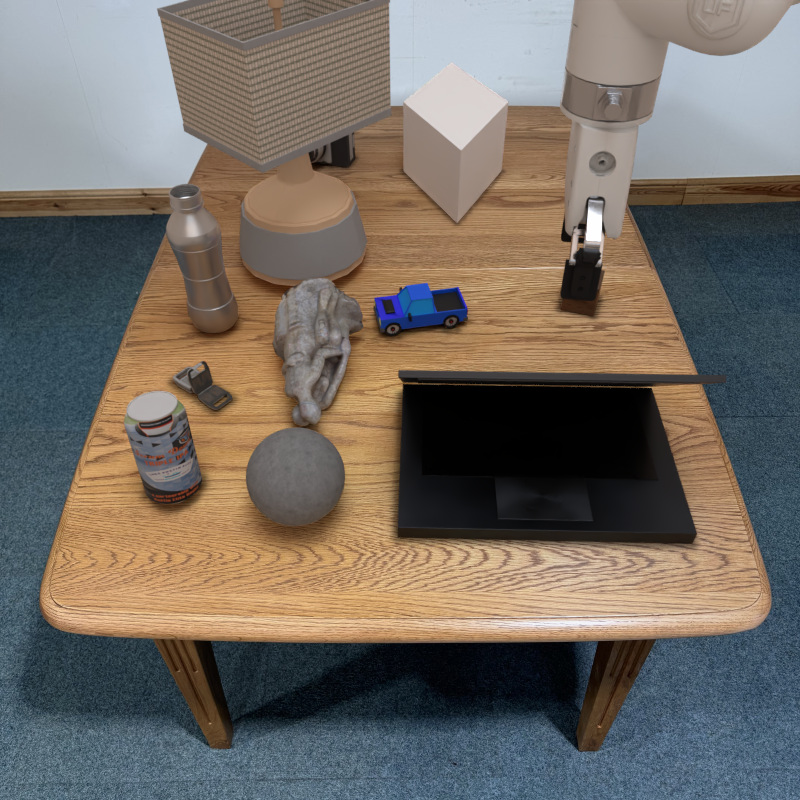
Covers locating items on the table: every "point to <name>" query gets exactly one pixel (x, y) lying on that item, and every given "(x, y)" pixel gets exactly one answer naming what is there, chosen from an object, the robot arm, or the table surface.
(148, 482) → the beverage can
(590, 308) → the block
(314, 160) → the camera
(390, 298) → the toy car
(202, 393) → the strap clip
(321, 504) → the decorative ball
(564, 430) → the laptop
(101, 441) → the table surface
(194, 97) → the desk lamp
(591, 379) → the laptop screen
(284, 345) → the sculpture
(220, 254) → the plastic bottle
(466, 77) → the block
